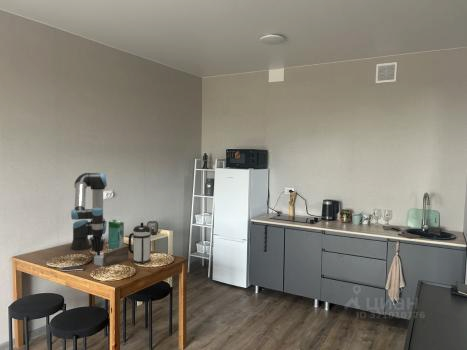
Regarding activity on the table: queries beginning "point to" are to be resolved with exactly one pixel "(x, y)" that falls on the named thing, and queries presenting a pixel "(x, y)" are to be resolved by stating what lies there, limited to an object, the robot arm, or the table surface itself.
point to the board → (115, 255)
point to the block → (98, 260)
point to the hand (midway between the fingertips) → (97, 260)
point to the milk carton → (115, 234)
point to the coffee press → (140, 243)
